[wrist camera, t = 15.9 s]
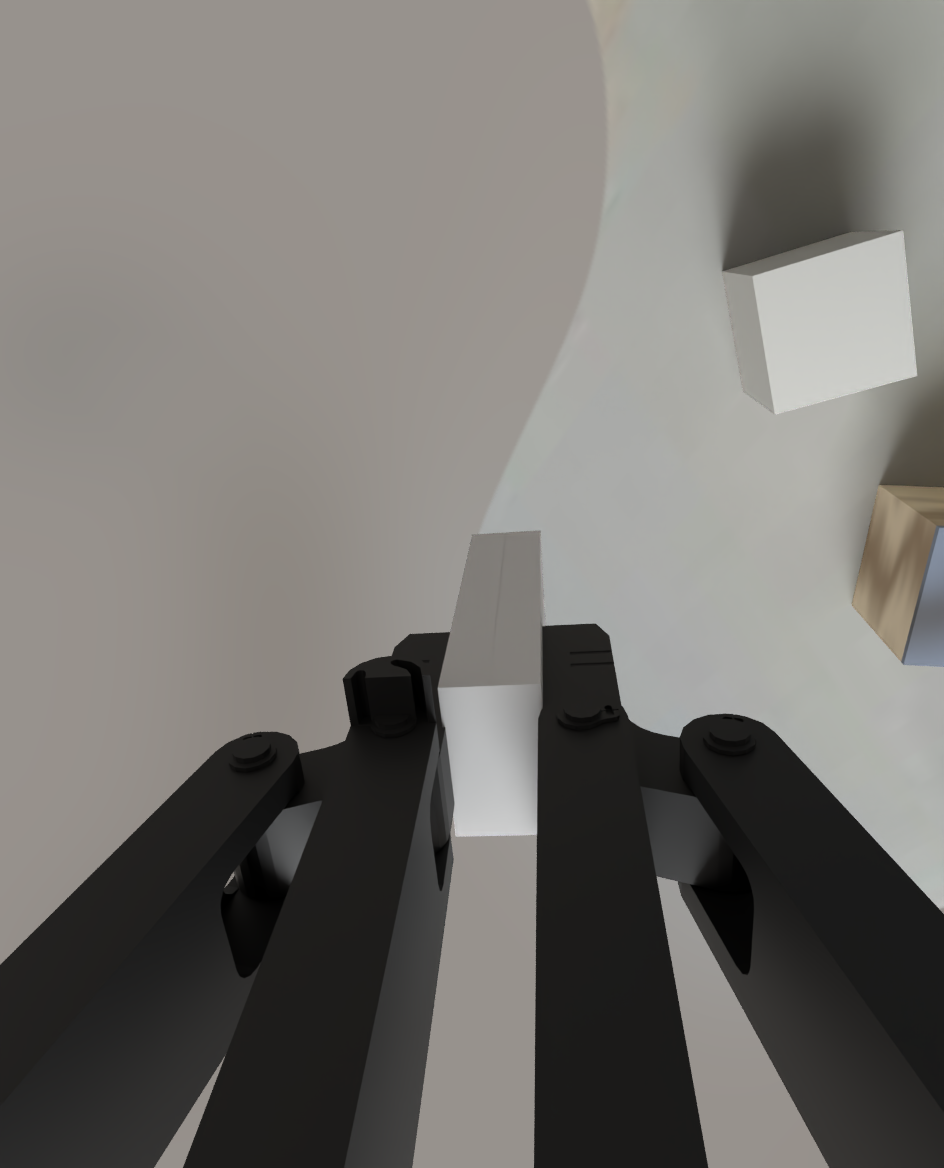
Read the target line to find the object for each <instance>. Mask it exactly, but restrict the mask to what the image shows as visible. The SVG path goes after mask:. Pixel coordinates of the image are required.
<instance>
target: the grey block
mask: <svg viewBox="0 0 944 1168" xmlns="http://www.w3.org/2000/svg"><path fill="white" fill-rule="evenodd" d="M722 274H723V280H724V286H725V291H726V297H727V303H728V308H729V314H730V320H731V325H732V331H733V337H734V343H735V348H736V354H737V360H738V365H739V371H740V377H741V382H742V388H743V392H744V393H745V394H747V395H748V396H750V397H751V398H752V399H754V400H755V401H756V402H758V403H759V404H761V405H762V406H763V407H765V408H766V409H768V410H769V411H770V412H772V413H773V414H775V415H776V414H779V413H783V412H787V411H790V410H794V409H798V408H801V407H805V406H809V405H812V404H816V403H820V402H823V401H827V400H831V399H834V398H838V397H842V396H845V395H849V394H853V393H856V392H860V391H864V390H867V389H871V388H875V387H878V386H882V385H886V384H889V383H893V382H897V381H900V380H904V379H908V378H911V377H915V376H917V369H916V358H915V348H914V338H913V327H912V317H911V306H910V296H909V286H908V275H907V265H906V255H905V244H904V234H903V230H896V231H865V232H849V233H845V234H842V235H839V236H836V237H832V238H829V239H826V240H823V241H819V242H816V243H813V244H810V245H806V246H803V247H800V248H797V249H793V250H790V251H787V252H784V253H780V254H777V255H774V256H771V257H767V258H764V259H761V260H758V261H754V262H751V263H748V264H745V265H741V266H738V267H735V268H732V269H728V270H725V271H722Z"/></svg>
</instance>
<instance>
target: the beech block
mask: <svg viewBox="0 0 944 1168" xmlns="http://www.w3.org/2000/svg"><path fill="white" fill-rule="evenodd" d="M852 606H853V607H854V609H855V610H856V611H857V612H858V613H859V614H860V615H861V617H862V618H863V619H864V620H865V621H866V622H867V623H868V625H869V626H870V627H871V628H872V629H873V630H874V631H875V633H876V634H877V635H878V636H879V637H880V638H881V639H882V641H883V642H884V643H885V644H886V645H887V646H888V647H889V649H890V650H891V651H892V652H893V653H894V654H895V655H896V657H897V658H898V659H899V660H900V661H901V662H902V663H903V665H917V666H938V667H944V487H923V486H896V485H879V486H878V491H877V495H876V499H875V504H874V508H873V513H872V517H871V522H870V526H869V531H868V535H867V540H866V544H865V548H864V553H863V557H862V562H861V566H860V571H859V575H858V580H857V584H856V588H855V593H854V597H853V602H852Z"/></svg>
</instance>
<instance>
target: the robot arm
mask: <svg viewBox="0 0 944 1168" xmlns="http://www.w3.org/2000/svg"><path fill="white" fill-rule="evenodd" d="M343 683H344V689H345V695H346V701H347V706H348V712H349V717H350V723H351V727H350V730H349V732H348V735H347V737H346V740H345V741H343V742H341V743H339V744H337V745H333V746H330V747H327V748H323V749H319V750H314V751H310V752H306V753H301V754H299V749H298V745H297V742H296V741H295V740H294V739H293V738H292V737H291V736H290V735H286V734H283V733H279V732H257V733H254V734H247V735H244V736H242V737H240V738H238V739H235V740H233V741H231V742H228V743H227V744H225V745H224V746H223V747H221V748H220V749H219V750H217V751H216V752H215V753H214V754H213V755H212V756H211V757H210V758H209V759H208V760H207V761H206V762H205V763H204V764H203V765H202V766H201V767H200V768H199V769H198V770H197V771H196V772H194V773H193V775H192V776H190V777H189V778H188V780H186V781H185V782H184V783H183V784H182V785H181V786H180V787H179V788H178V789H177V790H176V791H175V792H174V793H173V794H172V795H171V796H170V797H169V798H168V799H167V800H166V801H165V802H164V803H163V804H162V805H161V806H160V807H159V808H158V809H157V810H156V811H155V812H154V813H153V814H152V815H151V816H150V817H149V818H148V819H147V820H146V821H145V822H144V823H143V824H142V825H141V826H140V827H139V828H138V829H137V830H136V831H135V832H134V833H133V834H132V835H131V836H130V837H129V838H128V839H127V840H126V841H125V842H124V843H123V844H122V845H121V846H120V847H119V848H118V849H117V850H116V851H115V852H114V853H113V854H112V855H111V856H110V857H109V858H108V859H107V860H106V861H105V862H104V863H103V864H102V865H101V866H100V867H99V868H98V869H97V870H96V871H95V872H93V873H92V874H91V875H90V877H88V878H87V880H85V881H84V882H83V883H82V884H81V885H80V886H79V887H78V888H77V889H76V890H75V891H74V892H73V893H72V894H71V895H70V896H69V897H68V898H67V899H66V900H65V901H64V902H63V903H62V904H61V905H60V906H59V907H58V908H57V909H56V910H55V911H54V912H53V913H52V914H51V915H50V916H49V917H48V918H47V919H46V920H45V921H44V922H43V923H42V924H41V925H40V926H39V927H38V928H37V929H36V930H35V931H34V932H33V933H32V934H31V935H30V936H29V937H28V938H27V939H26V940H25V941H24V942H23V943H22V944H21V945H20V946H19V947H18V948H17V949H16V950H15V951H14V952H13V953H12V954H11V955H10V956H9V957H8V958H7V959H6V960H5V961H4V962H3V963H2V964H1V965H0V1168H154V1167H155V1165H156V1164H157V1162H158V1160H159V1159H160V1157H161V1156H162V1154H163V1152H164V1151H165V1149H166V1148H167V1146H168V1145H169V1143H170V1141H171V1140H172V1138H173V1137H174V1135H175V1134H176V1132H177V1130H178V1129H179V1127H180V1126H181V1124H182V1123H183V1121H184V1119H185V1118H186V1116H187V1114H188V1113H189V1111H190V1110H191V1108H192V1107H193V1105H194V1104H195V1102H196V1100H197V1099H198V1097H199V1096H200V1094H201V1093H202V1091H203V1089H204V1088H205V1086H206V1085H207V1083H208V1082H209V1080H210V1078H211V1077H212V1075H213V1074H214V1072H215V1071H216V1069H217V1067H218V1066H219V1064H220V1063H221V1061H222V1059H223V1058H224V1056H225V1055H226V1056H225V1059H224V1061H223V1064H222V1067H221V1069H220V1072H219V1074H218V1077H217V1080H216V1082H215V1085H214V1087H213V1090H212V1093H211V1095H210V1099H209V1101H208V1103H207V1106H206V1109H205V1111H204V1114H203V1117H202V1119H201V1122H200V1125H199V1127H198V1130H197V1132H196V1135H195V1137H194V1140H193V1143H192V1146H191V1148H190V1151H189V1153H188V1156H187V1159H186V1162H185V1164H184V1167H183V1168H412V1165H413V1157H414V1150H415V1142H416V1135H417V1127H418V1120H419V1113H420V1105H421V1097H422V1090H423V1083H424V1075H425V1068H426V1060H427V1053H428V1046H429V1038H430V1031H431V1023H432V1016H433V1008H434V1000H435V993H436V986H437V978H438V971H439V964H440V956H441V948H442V941H443V934H444V926H445V919H446V911H447V904H448V896H449V888H450V882H451V874H452V867H453V852H452V844H451V836H450V831H451V825H452V818H453V817H454V825H455V834H456V836H503V835H504V836H507V835H537V896H536V898H537V899H536V902H537V903H536V906H537V907H536V1014H535V1015H536V1017H535V1020H536V1021H535V1128H534V1141H535V1142H534V1168H708V1164H707V1158H706V1152H705V1147H704V1141H703V1136H702V1130H701V1125H700V1119H699V1113H698V1108H697V1102H696V1096H695V1091H694V1085H693V1080H692V1074H691V1068H690V1063H689V1057H688V1051H687V1046H686V1040H685V1035H684V1029H683V1023H682V1018H681V1012H680V1007H679V1001H678V995H677V989H676V984H675V978H674V973H673V967H672V961H671V956H670V951H669V945H668V939H667V934H666V928H665V922H664V917H663V911H662V905H661V900H660V894H659V888H658V883H657V877H656V876H658V877H662V878H666V879H671V880H675V881H678V885H679V889H680V893H681V896H682V898H683V900H684V902H685V903H686V905H687V907H688V909H689V911H690V913H691V914H692V916H693V918H694V920H695V922H696V923H697V925H698V927H699V929H700V931H701V933H702V935H703V937H704V938H705V940H706V942H707V944H708V946H709V947H710V949H711V951H712V953H713V955H714V956H715V958H716V960H717V962H718V964H719V966H720V968H721V970H722V971H723V973H724V975H725V977H726V979H727V981H728V982H729V984H730V986H731V988H732V990H733V992H734V993H735V995H736V997H737V999H738V1001H739V1002H740V1004H741V1006H742V1008H743V1010H744V1012H745V1013H746V1015H747V1017H748V1019H749V1021H750V1023H751V1025H752V1026H753V1028H754V1030H755V1032H756V1034H757V1035H758V1037H759V1039H760V1041H761V1043H762V1045H763V1046H764V1048H765V1050H766V1052H767V1054H768V1056H769V1058H770V1059H771V1061H772V1063H773V1065H774V1067H775V1069H776V1071H777V1072H778V1074H779V1076H780V1078H781V1080H782V1082H783V1083H784V1085H785V1087H786V1089H787V1091H788V1093H789V1094H790V1096H791V1098H792V1100H793V1102H794V1103H795V1105H796V1107H797V1109H798V1111H799V1113H800V1114H801V1116H802V1118H803V1120H804V1122H805V1124H806V1126H807V1127H808V1129H809V1131H810V1133H811V1135H812V1137H813V1138H814V1140H815V1142H816V1144H817V1146H818V1148H819V1149H820V1151H821V1153H822V1155H823V1157H824V1159H825V1161H826V1162H827V1164H828V1166H829V1168H944V914H943V913H942V912H941V911H940V910H939V908H938V907H937V906H936V905H935V904H934V903H933V902H932V901H931V900H930V899H929V898H928V897H927V896H926V894H925V893H924V892H923V891H922V890H921V889H920V888H919V887H918V886H917V885H916V884H915V883H914V882H913V880H912V879H911V878H910V877H909V876H908V875H907V874H906V873H905V872H904V871H903V870H902V869H901V867H900V866H899V865H898V864H897V863H896V862H895V861H894V860H893V859H892V858H891V857H890V856H889V855H888V853H887V852H886V851H885V850H884V849H883V848H882V847H881V846H880V845H879V844H878V843H877V842H876V841H875V839H874V838H873V837H872V836H871V835H870V834H869V833H868V832H867V831H866V830H865V829H864V828H863V827H862V825H861V824H860V823H859V822H858V821H857V820H856V819H855V818H854V817H853V816H852V815H851V814H850V813H849V811H848V810H847V809H846V808H845V807H844V806H843V805H842V804H841V803H840V802H839V801H838V800H837V799H836V797H835V796H834V795H833V794H832V793H831V792H830V791H829V790H828V789H827V788H826V787H825V786H824V785H823V783H822V782H821V781H820V780H819V779H818V778H817V777H816V776H815V775H814V774H813V773H812V772H811V771H810V769H809V768H808V767H807V766H806V765H805V764H804V763H803V762H802V761H801V760H800V759H799V758H798V756H797V755H796V754H795V753H794V752H793V751H792V750H791V749H790V748H789V747H788V746H787V745H786V744H785V742H784V741H783V740H782V739H781V738H780V737H779V736H778V735H777V734H776V733H775V732H774V731H773V730H771V729H770V728H769V727H767V726H766V725H765V724H763V723H761V722H759V721H756V720H753V719H751V718H748V717H745V716H740V715H733V714H714V715H707V716H703V717H700V718H697V719H694V720H692V721H691V722H690V723H689V724H687V725H686V726H685V727H683V730H682V733H681V736H680V738H679V737H673V736H667V735H662V734H658V733H653V732H650V731H648V730H645V729H643V728H640V727H639V726H637V725H636V724H634V723H633V722H631V721H630V720H629V719H628V715H627V713H626V712H625V710H624V708H623V707H622V706H621V701H620V695H619V690H618V684H617V678H616V672H615V667H614V661H613V655H612V649H611V644H610V638H609V635H608V634H607V633H606V632H604V631H603V630H602V629H601V628H600V627H599V626H598V625H597V624H576V625H554V626H546V618H545V602H544V585H543V568H542V551H541V535H540V531H526V532H509V533H492V534H474V535H472V538H471V542H470V547H469V551H468V555H467V560H466V564H465V569H464V573H463V578H462V582H461V587H460V591H459V595H458V600H457V605H456V609H455V613H454V618H453V622H452V627H451V631H450V632H446V633H424V634H409V635H408V636H407V637H406V638H405V639H404V640H403V641H401V642H400V643H399V644H398V645H397V646H396V647H395V648H394V651H393V654H392V656H388V657H381V658H375V659H372V660H369V661H367V662H363V663H361V664H359V665H358V666H356V667H354V668H353V669H351V670H350V671H349V672H348V673H347V674H346V675H345V677H344V678H343ZM233 872H234V874H235V876H234V878H233V879H232V880H231V881H230V883H229V884H228V885H227V886H226V887H225V885H226V883H227V881H228V880H229V878H230V876H231V874H232V873H233ZM224 887H225V888H224Z"/></svg>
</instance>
